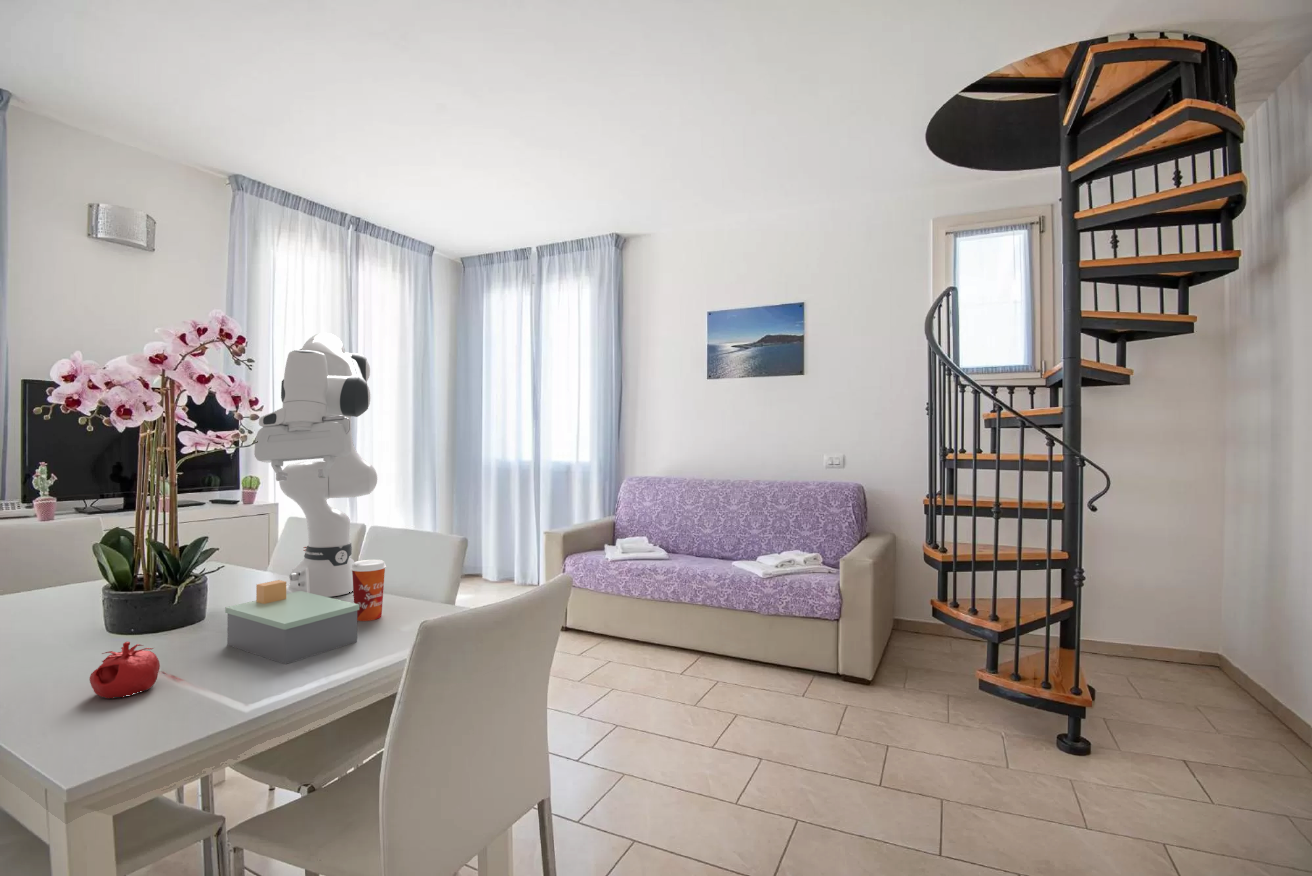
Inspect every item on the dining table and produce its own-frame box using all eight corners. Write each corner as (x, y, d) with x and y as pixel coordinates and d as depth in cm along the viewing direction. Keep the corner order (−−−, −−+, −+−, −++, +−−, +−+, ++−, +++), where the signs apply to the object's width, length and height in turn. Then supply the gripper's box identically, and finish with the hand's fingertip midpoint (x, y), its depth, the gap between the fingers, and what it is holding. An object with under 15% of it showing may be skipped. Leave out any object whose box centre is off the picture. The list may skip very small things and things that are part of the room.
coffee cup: (360, 628, 152) (361, 567, 152) (344, 621, 157) (344, 562, 157) (392, 620, 159) (393, 561, 159) (376, 614, 164) (376, 557, 164)
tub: (227, 649, 137) (227, 613, 137) (299, 629, 151) (299, 596, 151) (285, 669, 126) (285, 629, 126) (357, 645, 140) (357, 610, 140)
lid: (225, 612, 137) (225, 589, 137) (300, 595, 151) (300, 574, 151) (284, 629, 126) (284, 604, 126) (359, 609, 140) (359, 586, 140)
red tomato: (152, 676, 122) (153, 629, 122) (166, 690, 115) (167, 640, 115) (84, 692, 114) (84, 642, 114) (95, 708, 108) (95, 654, 108)
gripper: (357, 417, 143) (356, 477, 140) (269, 425, 144) (266, 484, 141) (342, 411, 137) (341, 473, 134) (251, 418, 137) (248, 480, 135)
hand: (302, 479), depth 138 cm, fingers open, 8 cm apart
